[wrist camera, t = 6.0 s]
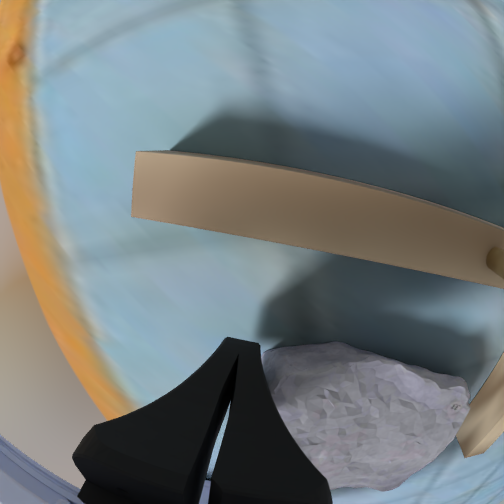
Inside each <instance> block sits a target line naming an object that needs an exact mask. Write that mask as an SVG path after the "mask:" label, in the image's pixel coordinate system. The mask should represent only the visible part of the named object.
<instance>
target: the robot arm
mask: <svg viewBox="0 0 504 504" xmlns="http://www.w3.org/2000/svg"><path fill="white" fill-rule="evenodd" d="M230 401H231V403H230ZM229 404H230V410H229V418H228V421H227V425H226V429H225V433H224V436H223V440H222V443H221V447H220V450H219V454H218V457H217V461H216V464H215V467H214V471H213V474H212V477H211V481H208V480H205V478H206V474H207V471H208V467H209V463H210V459H211V455H212V451H213V448H214V445H215V442H216V439H217V436H218V433H219V431H220V428H221V425H222V423H223V420H224V417H225V415H226V412H227V409H228V406H229ZM72 459H73V461H74V463H75V465H76V467H77V468H78V469H79V471H80V472H81V473H82V475H83V476H84V478H85V479H86V481H85V483H84V484H83V486H82V488H81V489H79V488H77V487H75V486H74V485H72V484H70V483H68V482H67V481H65V480H63V479H61V478H60V477H58V476H57V475H55V474H53V473H52V472H50V471H49V470H47V469H46V468H44V467H42V466H41V465H39V464H38V463H37V462H35V461H34V460H32V459H31V458H30V457H28V456H27V455H25V454H24V453H23V452H21V451H20V450H18V449H17V448H16V447H15V446H14V445H12V444H11V443H9V442H8V441H7V440H6V439H5V438H4V437H2V436H1V435H0V504H332V496H331V491H330V487H329V484H328V481H327V479H326V478H325V477H324V476H323V475H322V473H321V472H320V471H319V470H318V469H317V468H316V467H315V466H314V465H313V464H312V462H311V461H310V460H309V459H308V458H307V456H306V455H305V454H304V452H303V451H302V450H301V448H300V447H299V446H298V444H297V443H296V441H295V440H294V438H293V437H292V435H291V434H290V432H289V430H288V429H287V427H286V425H285V423H284V422H283V420H282V418H281V416H280V414H279V412H278V410H277V407H276V405H275V403H274V400H273V398H272V395H271V393H270V390H269V387H268V384H267V380H266V377H265V373H264V370H263V365H262V360H261V351H260V345H259V343H255V342H250V341H245V340H240V339H235V338H231V337H227V338H225V339H224V340H223V342H222V343H221V344H220V346H219V347H218V348H217V350H216V351H215V352H214V353H213V354H212V355H211V356H210V357H209V359H208V360H207V361H206V362H205V363H204V364H203V365H202V366H201V367H200V368H199V369H198V370H196V371H195V372H194V373H193V374H192V375H191V376H190V377H188V378H187V379H186V380H185V381H184V382H182V383H181V384H180V385H178V386H177V387H176V388H174V389H173V390H171V391H170V392H168V393H167V394H165V395H164V396H162V397H160V398H159V399H157V400H155V401H154V402H152V403H150V404H148V405H146V406H144V407H142V408H140V409H138V410H136V411H133V412H131V413H129V414H127V415H124V416H121V417H119V418H116V419H113V420H110V421H106V422H103V423H100V424H96V425H94V426H93V427H92V428H91V430H90V431H89V432H88V433H87V434H86V435H85V436H84V438H83V439H82V441H81V442H80V444H79V445H78V447H77V448H76V450H75V452H74V453H73V456H72Z"/></svg>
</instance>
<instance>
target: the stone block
mask: <svg viewBox="0 0 504 504" xmlns="http://www.w3.org/2000/svg"><path fill="white" fill-rule="evenodd" d="M261 360H262V365H263V370H264V373H265V377H266V380H267V384H268V387H269V390H270V393H271V395H272V398H273V400H274V403H275V405H276V407H277V410H278V412H279V414H280V416H281V418H282V420H283V422H284V423H285V425H286V427H287V429H288V430H289V432H290V434H291V435H292V437H293V438H294V440H295V441H296V443H297V444H298V446H299V447H300V448H301V450H302V451H303V452H304V454H305V455H306V456H307V458H308V459H309V460H310V461H311V462H312V464H313V465H314V466H315V467H316V468H317V469H318V470H319V471H320V472H321V473H322V475H323V476H324V477H325V478H326V479H327V481H328V484H329V487H330V490H332V489H336V488H341V487H353V488H362V487H368V488H372V489H375V490H379V491H389V490H393V489H395V488H397V487H399V486H400V485H401V484H402V483H403V482H404V481H405V480H406V479H408V478H409V477H410V476H411V475H412V474H414V473H416V472H417V471H419V470H421V469H422V468H424V467H425V466H426V465H427V464H428V463H431V462H432V461H433V460H434V459H435V458H436V457H437V456H438V455H439V454H440V453H441V452H442V451H444V450H445V448H446V447H447V446H448V444H449V443H451V442H452V441H453V440H454V438H455V436H456V434H457V432H458V431H459V429H460V427H461V425H462V424H463V422H464V420H465V418H466V416H467V414H468V413H469V410H470V406H469V403H468V400H469V398H470V393H469V390H468V386H467V383H466V381H464V379H463V378H461V377H460V376H451V375H447V374H439V373H434V372H431V371H429V370H427V369H426V368H423V367H419V366H417V365H408V364H404V363H403V362H400V361H397V360H395V359H391V358H386V357H384V356H382V355H378V354H375V353H373V352H369V351H365V350H360V349H357V348H355V347H352V346H350V345H348V344H346V343H343V342H338V341H333V342H329V343H323V344H309V345H300V346H291V347H281V348H276V349H271V350H268V351H265V352H264V353H263V354H262V356H261Z"/></svg>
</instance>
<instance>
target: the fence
mask: <svg viewBox="0 0 504 504" xmlns="http://www.w3.org/2000/svg"><path fill="white" fill-rule="evenodd" d="M131 217H136V218H142V219H148V220H154V221H160V222H165V223H171V224H177V225H182V226H188V227H194V228H199V229H205V230H211V231H216V232H222V233H227V234H233V235H238V236H244V237H249V238H254V239H260V240H265V241H271V242H276V243H281V244H286V245H292V246H297V247H302V248H307V249H313V250H318V251H323V252H328V253H333V254H338V255H344V256H349V257H354V258H359V259H364V260H369V261H374V262H379V263H384V264H389V265H394V266H398V267H403V268H408V269H413V270H418V271H423V272H428V273H432V274H437V275H442V276H447V277H451V278H456V279H461V280H465V281H470V282H475V283H479V284H484V285H488V286H493V287H497V288H502V289H504V228H503V227H500V226H498V225H495V224H493V223H490V222H487V221H485V220H482V219H480V218H477V217H474V216H471V215H469V214H466V213H463V212H460V211H457V210H454V209H451V208H448V207H445V206H442V205H439V204H436V203H433V202H430V201H426V200H423V199H420V198H417V197H413V196H410V195H406V194H403V193H399V192H396V191H392V190H388V189H385V188H381V187H377V186H373V185H369V184H365V183H361V182H357V181H353V180H349V179H345V178H340V177H336V176H331V175H327V174H322V173H317V172H313V171H308V170H303V169H297V168H292V167H287V166H281V165H276V164H270V163H264V162H258V161H251V160H245V159H238V158H231V157H223V156H216V155H208V154H199V153H190V152H180V151H169V150H164V151H136V156H135V167H134V178H133V193H132V211H131ZM469 406H470V410H469V413H468V414H467V416H466V418H465V420H464V422H463V424H462V425H461V427H460V429H459V431H458V432H457V434H456V437H457V439H458V442H459V444H460V447H461V450H462V452H463V455H464V458H467V457H471V456H474V455H478V454H482V453H484V452H485V451H486V450H487V449H488V448H489V447H490V446H491V445H492V444H493V443H494V442H495V441H496V440H497V439H498V437H499V436H500V435H501V434H502V433H503V432H504V353H503V354H502V356H501V358H500V360H499V361H498V363H497V365H496V366H495V368H494V369H493V371H492V373H491V374H490V376H489V377H488V379H487V380H486V382H485V383H484V385H483V386H482V388H481V389H480V391H479V392H478V393H477V395H476V396H475V398H474V399H473V400H472V402H471V403H470V404H469Z"/></svg>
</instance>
